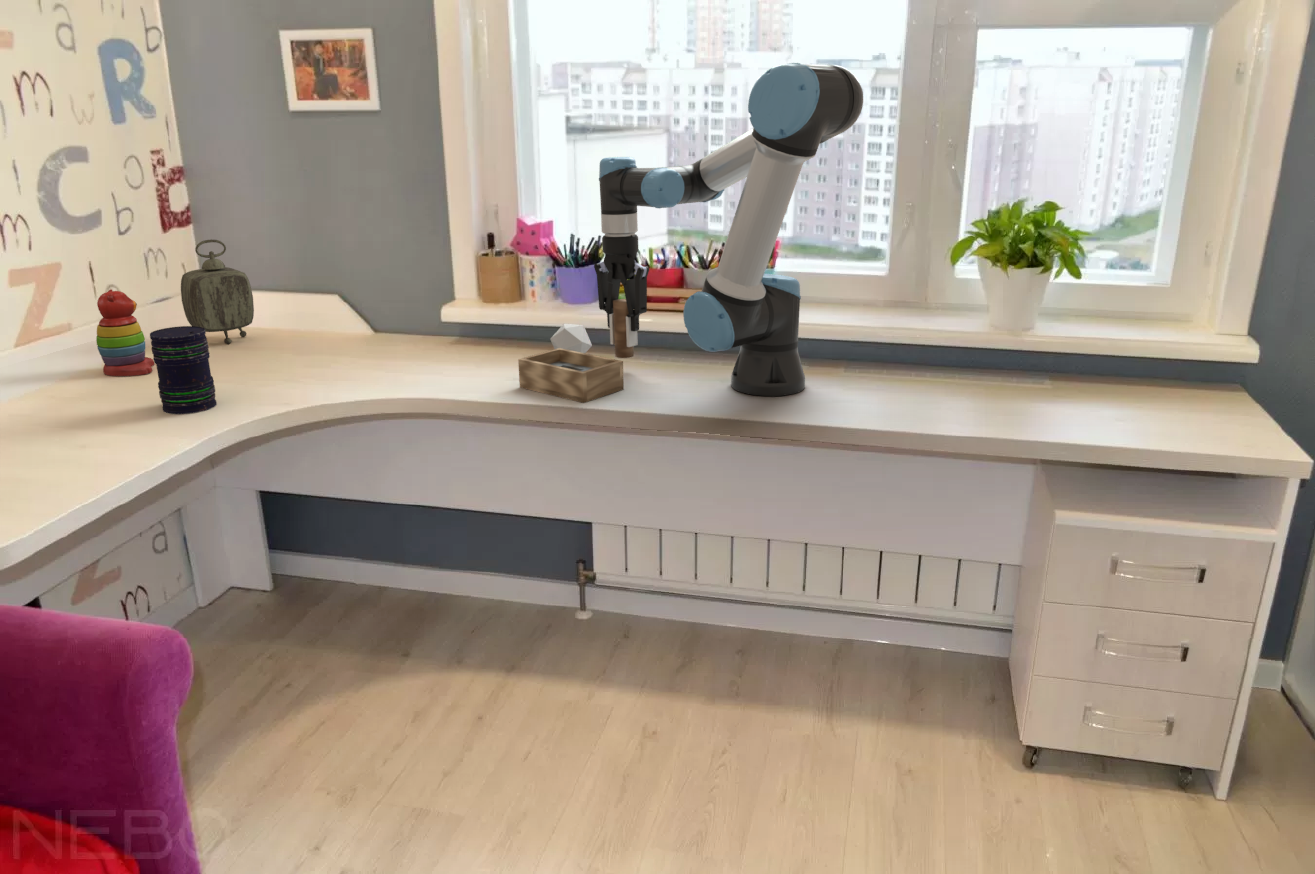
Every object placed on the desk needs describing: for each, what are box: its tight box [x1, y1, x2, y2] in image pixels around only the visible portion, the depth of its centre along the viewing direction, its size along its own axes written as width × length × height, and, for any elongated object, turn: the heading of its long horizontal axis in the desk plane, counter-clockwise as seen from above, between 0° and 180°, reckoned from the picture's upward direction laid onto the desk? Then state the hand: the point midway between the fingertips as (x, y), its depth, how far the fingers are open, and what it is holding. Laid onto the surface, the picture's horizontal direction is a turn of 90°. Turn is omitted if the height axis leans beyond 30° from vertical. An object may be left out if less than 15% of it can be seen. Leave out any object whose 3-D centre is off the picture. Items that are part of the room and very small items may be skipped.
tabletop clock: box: [180, 238, 255, 345], centre depth 241 cm, size 14×9×25 cm, turn 130°
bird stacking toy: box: [95, 288, 155, 377], centre depth 217 cm, size 11×10×18 cm
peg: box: [613, 298, 635, 359], centre depth 213 cm, size 4×4×12 cm
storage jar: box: [149, 325, 218, 415], centre depth 192 cm, size 10×10×15 cm
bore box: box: [517, 348, 625, 404], centre depth 204 cm, size 18×12×6 cm, turn 51°
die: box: [550, 323, 593, 354], centre depth 227 cm, size 8×9×10 cm
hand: (624, 344), depth 214 cm, fingers closed on peg, 4 cm apart
